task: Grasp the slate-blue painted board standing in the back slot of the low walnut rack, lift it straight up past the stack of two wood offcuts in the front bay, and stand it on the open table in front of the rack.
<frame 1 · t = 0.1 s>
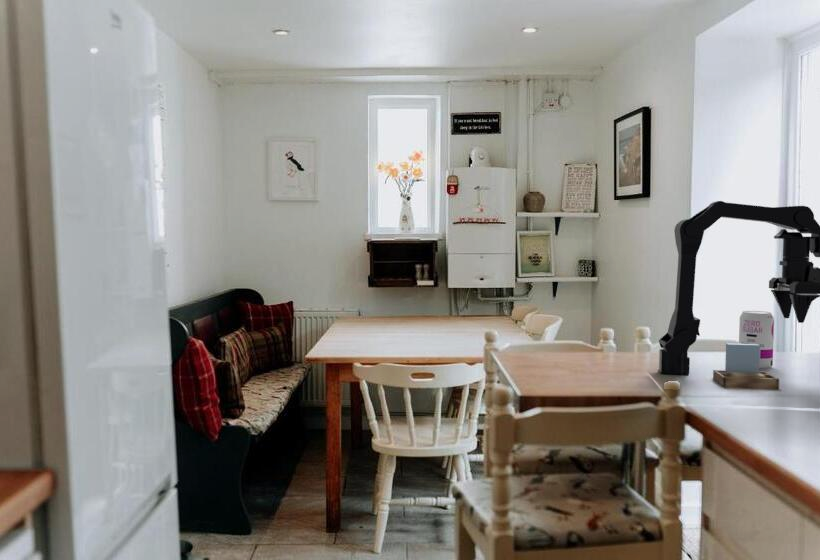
hand: (793, 320, 168), 15 cm above the counter, fingers open, 9 cm apart
offcut upper: (747, 379, 158), point 2 cm above the counter, touching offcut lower
board: (741, 381, 162), point 1 cm above the counter, touching rack
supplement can: (755, 368, 183), on the counter
rack: (745, 386, 160), on the counter
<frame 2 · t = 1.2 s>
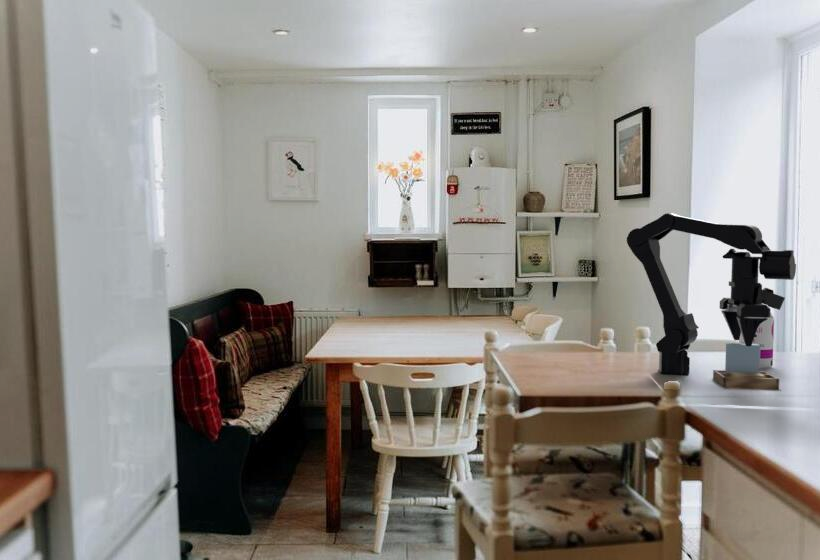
hand: (742, 343, 162), 10 cm above the counter, fingers open, 9 cm apart
nothing on the counter moved.
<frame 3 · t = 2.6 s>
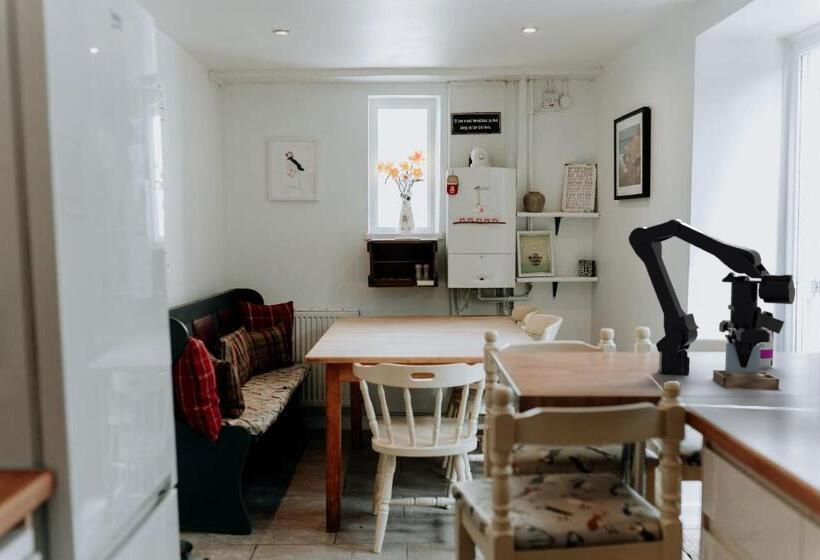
hand: (742, 366, 162), 4 cm above the counter, fingers closed on board, 2 cm apart
board: (741, 381, 162), point 1 cm above the counter, touching gripper, rack
everything else where it was.
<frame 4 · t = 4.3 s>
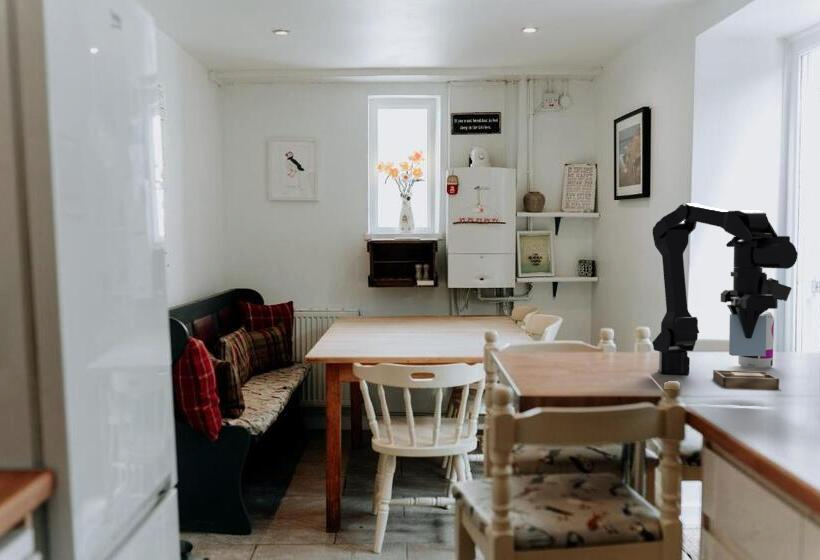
hand: (746, 337, 150), 13 cm above the counter, fingers closed on board
board: (747, 355, 151), point 9 cm above the counter, touching gripper
everything else where it was.
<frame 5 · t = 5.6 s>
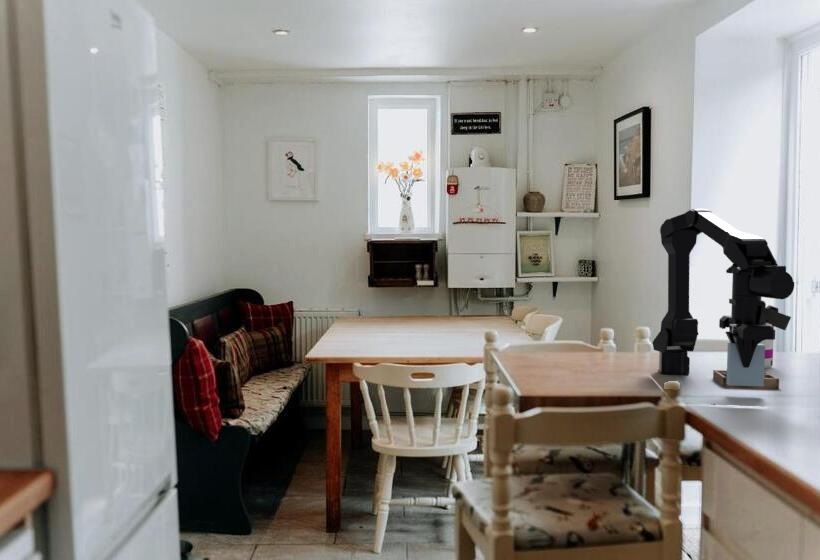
hand: (744, 366, 148), 7 cm above the counter, fingers closed on board, 2 cm apart
board: (744, 384, 148), point 3 cm above the counter, touching gripper
everything else where it was.
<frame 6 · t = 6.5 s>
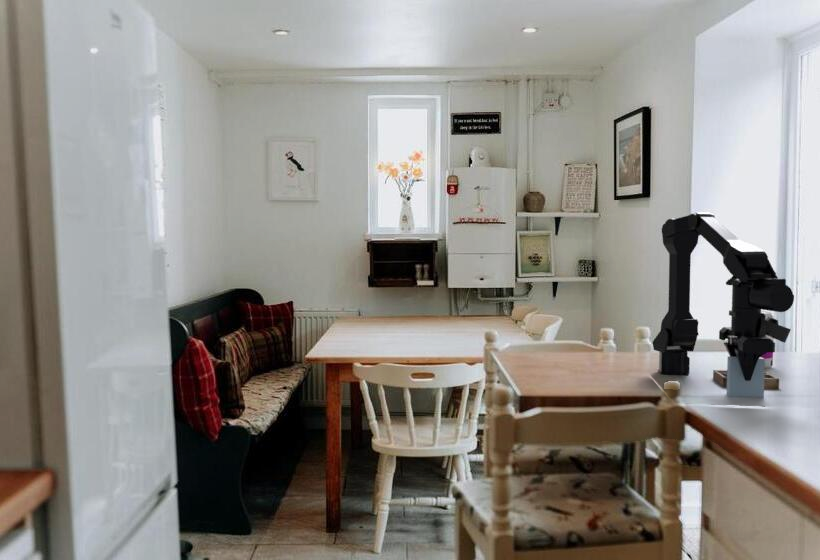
hand: (744, 378, 148), 4 cm above the counter, fingers open, 4 cm apart
board: (744, 398, 148), on the counter
everything else where it was.
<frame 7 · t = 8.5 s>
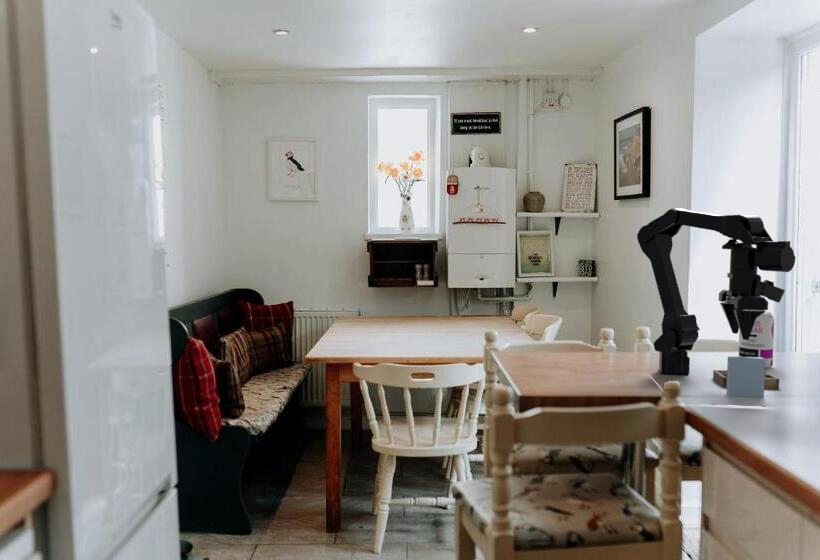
hand: (740, 336, 157), 12 cm above the counter, fingers open, 9 cm apart
nothing on the counter moved.
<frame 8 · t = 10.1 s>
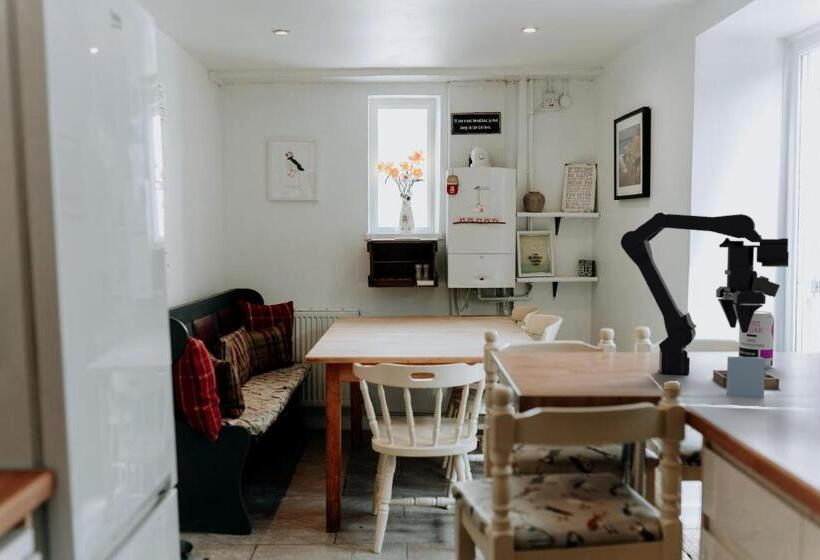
hand: (738, 330, 165), 13 cm above the counter, fingers open, 9 cm apart
nothing on the counter moved.
at the end: board inside the target area (0.7 cm from its centre), on the counter; board touching counter; offcut upper moved 0.0 cm from its start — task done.
